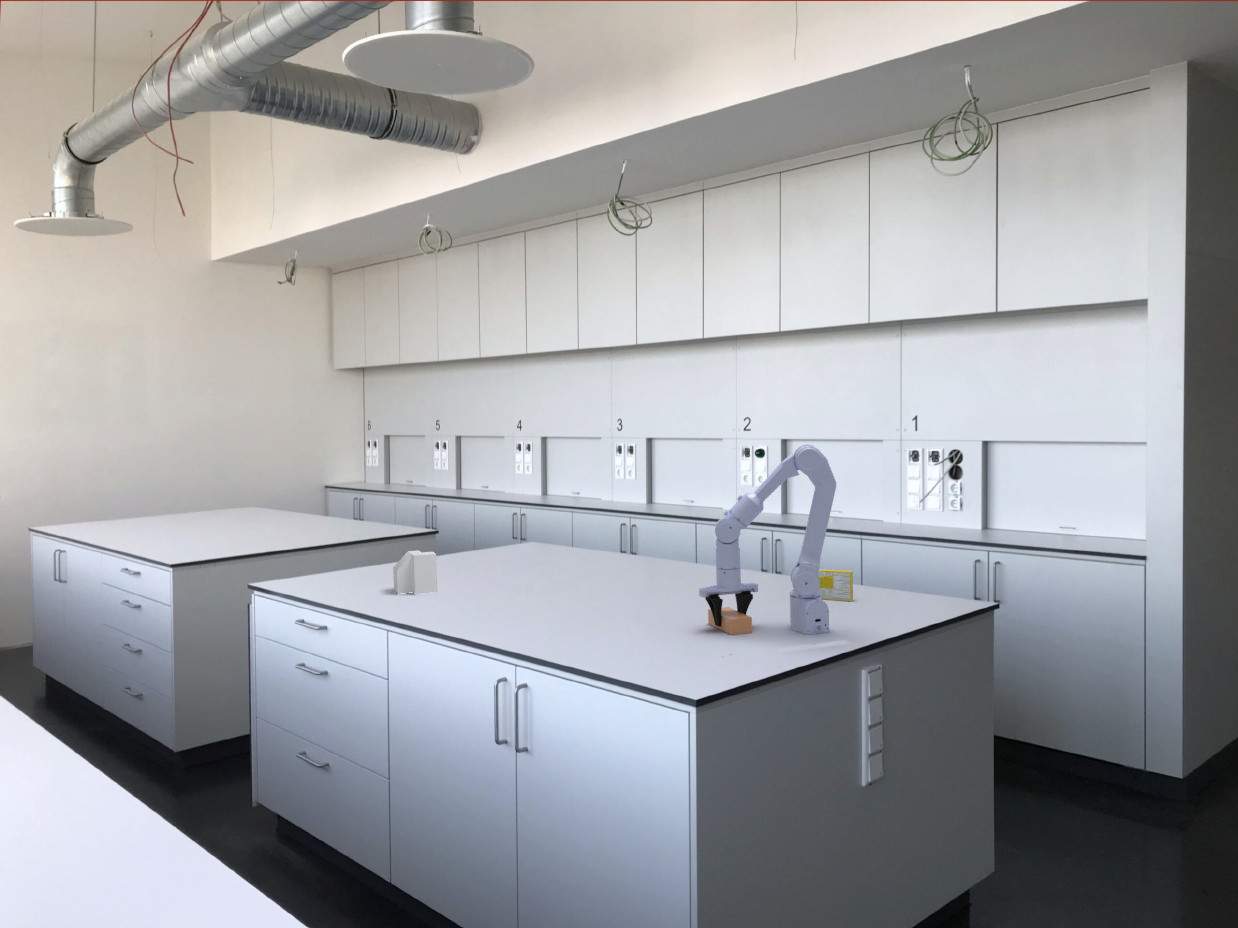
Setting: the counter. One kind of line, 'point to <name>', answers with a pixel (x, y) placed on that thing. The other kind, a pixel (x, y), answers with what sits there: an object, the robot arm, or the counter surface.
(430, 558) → the corner bracket
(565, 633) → the counter surface
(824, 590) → the candy box
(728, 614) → the tan rectangular plank
